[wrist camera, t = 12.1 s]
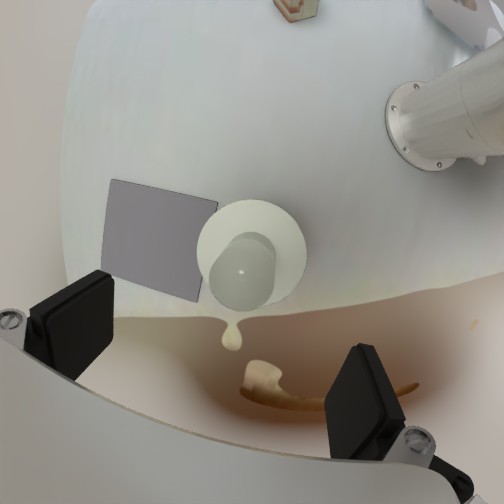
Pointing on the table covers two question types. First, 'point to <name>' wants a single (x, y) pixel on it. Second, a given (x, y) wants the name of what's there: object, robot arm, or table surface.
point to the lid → (251, 254)
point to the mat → (154, 237)
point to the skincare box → (297, 9)
